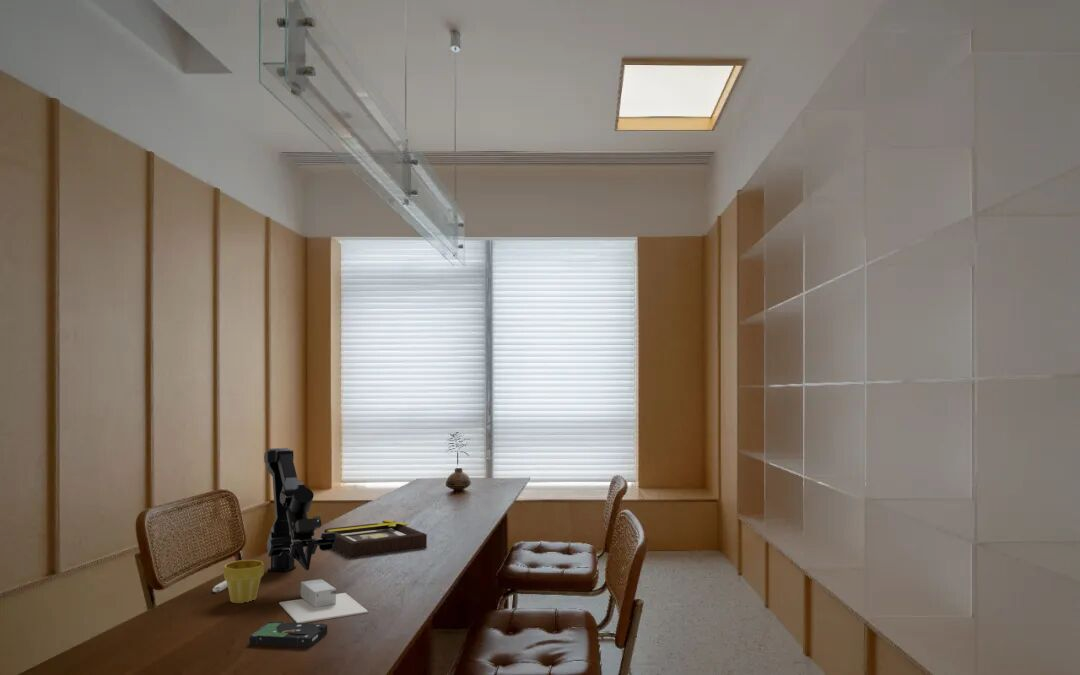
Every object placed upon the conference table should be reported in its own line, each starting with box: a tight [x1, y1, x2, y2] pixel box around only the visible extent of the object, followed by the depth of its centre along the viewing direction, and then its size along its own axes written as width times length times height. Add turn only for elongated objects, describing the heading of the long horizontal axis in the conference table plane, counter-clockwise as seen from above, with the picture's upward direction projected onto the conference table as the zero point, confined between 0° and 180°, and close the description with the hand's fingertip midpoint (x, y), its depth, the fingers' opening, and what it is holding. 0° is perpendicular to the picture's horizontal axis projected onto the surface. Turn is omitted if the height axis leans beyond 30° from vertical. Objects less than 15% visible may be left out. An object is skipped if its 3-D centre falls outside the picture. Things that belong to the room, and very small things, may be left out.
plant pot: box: [223, 559, 265, 604], centre depth 213 cm, size 10×10×10 cm
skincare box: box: [300, 578, 337, 607], centre depth 211 cm, size 6×4×12 cm
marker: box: [212, 579, 228, 593], centre depth 228 cm, size 18×2×2 cm, turn 175°
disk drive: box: [248, 621, 328, 649], centre depth 181 cm, size 10×3×15 cm
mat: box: [279, 592, 369, 623], centre depth 205 cm, size 20×18×1 cm
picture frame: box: [323, 519, 428, 558], centre depth 283 cm, size 28×7×30 cm
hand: (307, 569), depth 220 cm, fingers closed
